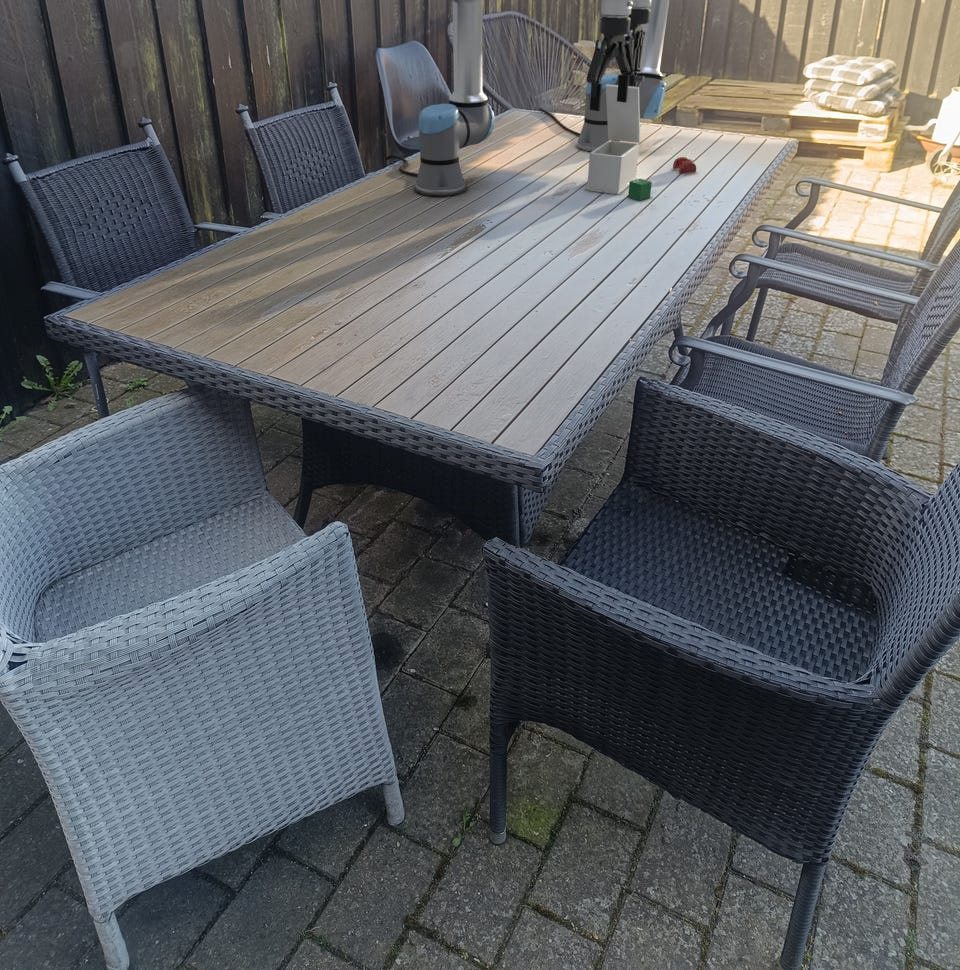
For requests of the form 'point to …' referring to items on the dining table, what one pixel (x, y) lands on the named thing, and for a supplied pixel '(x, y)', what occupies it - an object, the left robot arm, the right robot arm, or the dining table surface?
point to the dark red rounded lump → (684, 165)
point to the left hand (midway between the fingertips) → (608, 106)
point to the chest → (612, 167)
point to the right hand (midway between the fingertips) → (629, 96)
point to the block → (639, 189)
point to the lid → (624, 113)
